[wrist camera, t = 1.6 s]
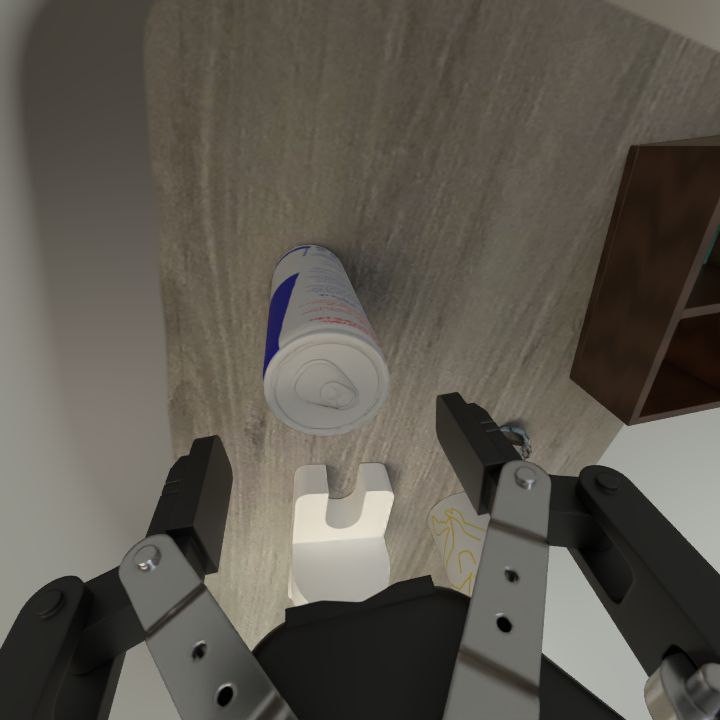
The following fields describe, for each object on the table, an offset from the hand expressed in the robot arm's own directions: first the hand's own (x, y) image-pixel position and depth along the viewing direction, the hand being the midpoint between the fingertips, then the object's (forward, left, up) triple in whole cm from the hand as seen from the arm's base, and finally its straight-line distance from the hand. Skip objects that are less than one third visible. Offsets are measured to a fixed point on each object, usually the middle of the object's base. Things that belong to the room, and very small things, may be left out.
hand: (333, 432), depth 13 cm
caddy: (+4, +31, -18) cm, 36 cm away
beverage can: (0, 0, -18) cm, 18 cm away
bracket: (+30, -2, -18) cm, 35 cm away
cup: (+34, +14, -18) cm, 41 cm away
